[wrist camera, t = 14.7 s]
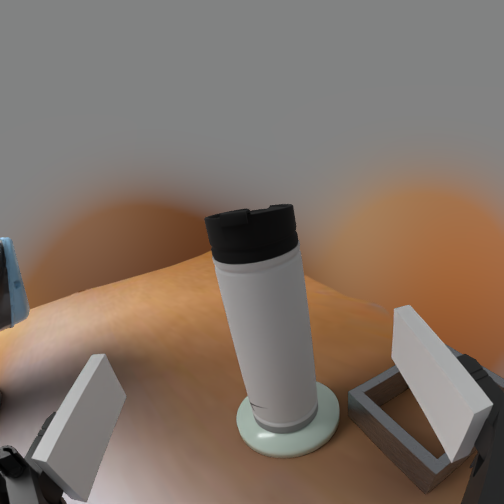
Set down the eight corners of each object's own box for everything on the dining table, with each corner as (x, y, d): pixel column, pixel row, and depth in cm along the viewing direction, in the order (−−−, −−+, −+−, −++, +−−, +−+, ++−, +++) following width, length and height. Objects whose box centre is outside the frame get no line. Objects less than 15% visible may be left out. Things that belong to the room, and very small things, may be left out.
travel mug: (245, 435, 26) (184, 221, 20) (262, 389, 32) (220, 199, 26) (314, 438, 24) (283, 207, 18) (321, 389, 30) (297, 188, 24)
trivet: (226, 406, 31) (224, 399, 31) (309, 374, 34) (308, 366, 34) (260, 474, 22) (257, 467, 22) (359, 427, 25) (359, 419, 25)
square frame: (347, 415, 27) (348, 391, 26) (432, 363, 30) (435, 338, 29) (425, 494, 16) (435, 474, 15) (508, 414, 19) (520, 388, 18)
